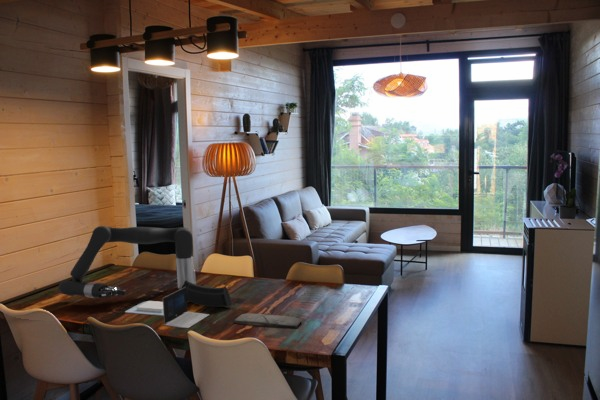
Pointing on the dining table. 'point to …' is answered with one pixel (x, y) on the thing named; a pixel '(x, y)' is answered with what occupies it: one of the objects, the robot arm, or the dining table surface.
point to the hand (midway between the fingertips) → (125, 292)
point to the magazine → (207, 295)
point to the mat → (134, 310)
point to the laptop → (179, 310)
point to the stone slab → (268, 320)
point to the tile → (151, 306)
